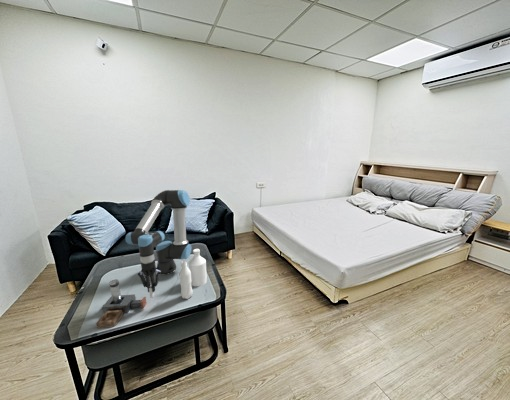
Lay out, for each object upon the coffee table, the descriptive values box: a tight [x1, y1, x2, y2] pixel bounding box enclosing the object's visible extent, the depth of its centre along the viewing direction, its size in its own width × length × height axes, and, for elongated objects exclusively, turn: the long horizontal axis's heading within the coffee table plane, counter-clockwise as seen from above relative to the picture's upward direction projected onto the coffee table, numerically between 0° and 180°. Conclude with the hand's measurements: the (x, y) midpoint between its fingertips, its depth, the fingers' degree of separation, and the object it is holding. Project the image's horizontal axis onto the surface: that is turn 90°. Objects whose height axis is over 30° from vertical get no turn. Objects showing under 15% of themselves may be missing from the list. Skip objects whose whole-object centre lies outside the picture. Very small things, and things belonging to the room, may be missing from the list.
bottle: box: [188, 248, 208, 287], centre depth 154 cm, size 12×12×25 cm
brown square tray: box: [96, 310, 124, 328], centre depth 121 cm, size 9×9×3 cm
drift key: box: [130, 296, 147, 309], centre depth 132 cm, size 8×4×4 cm, turn 95°
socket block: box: [101, 294, 137, 315], centre depth 131 cm, size 14×10×5 cm
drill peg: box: [108, 279, 122, 304], centre depth 130 cm, size 5×5×18 cm
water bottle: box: [178, 260, 194, 300], centre depth 138 cm, size 7×7×25 cm
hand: (152, 296), depth 131 cm, fingers closed
